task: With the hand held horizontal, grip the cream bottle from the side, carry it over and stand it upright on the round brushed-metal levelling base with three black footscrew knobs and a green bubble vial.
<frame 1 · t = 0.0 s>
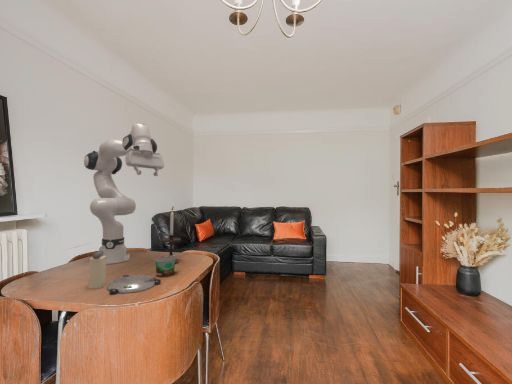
hand: (147, 175, 136), 52 cm above the table, tool tilted 20°, fingers open, 8 cm apart
levelling base: (132, 285, 118), on the table
candlestick: (170, 262, 157), on the table
cream bottle: (97, 286, 115), on the table
food container: (167, 275, 133), on the table
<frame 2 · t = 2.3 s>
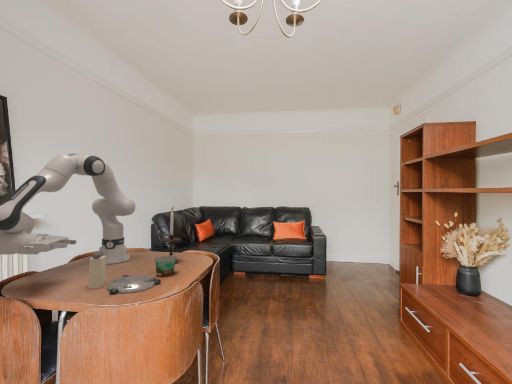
hand: (71, 243, 113), 19 cm above the table, tool horizontal, fingers open, 8 cm apart
nothing on the table moved.
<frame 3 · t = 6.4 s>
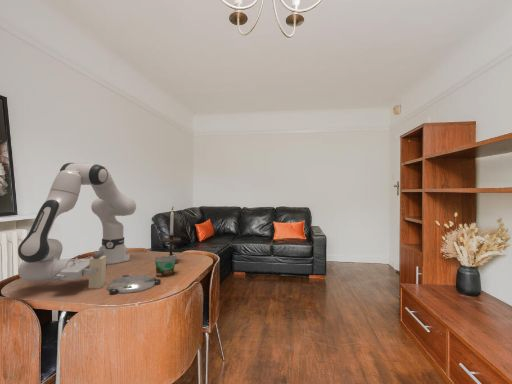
hand: (99, 268, 116), 8 cm above the table, tool horizontal, fingers closed on cream bottle, 5 cm apart
cream bottle: (97, 286, 115), on the table, touching gripper
everything else where it was.
when the fingers open (10 cm above the table, at t = 12.6 s): cream bottle stays where it is, resting on levelling base.
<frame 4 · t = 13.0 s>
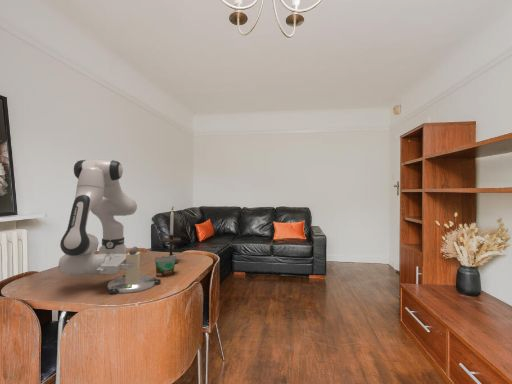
hand: (135, 262, 118), 10 cm above the table, tool horizontal, fingers open, 8 cm apart
cream bottle: (132, 281, 118), point 2 cm above the table, touching levelling base
everything else where it was.
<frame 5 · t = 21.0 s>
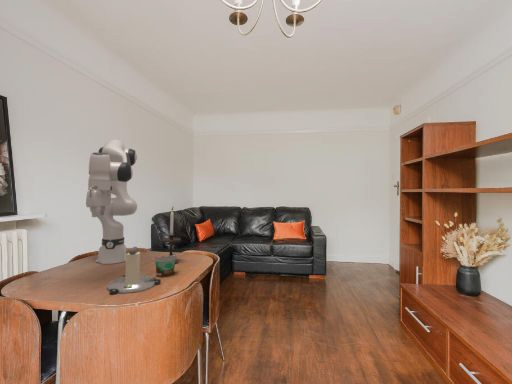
hand: (98, 216, 120), 31 cm above the table, tool pointing down, fingers open, 8 cm apart
nothing on the table moved.
at the end: cream bottle inside the target area on the levelling base (0.1 cm from its centre), point 1.6 cm above the levelling base's base; cream bottle tilted 0°; the gripper is holding nothing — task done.
